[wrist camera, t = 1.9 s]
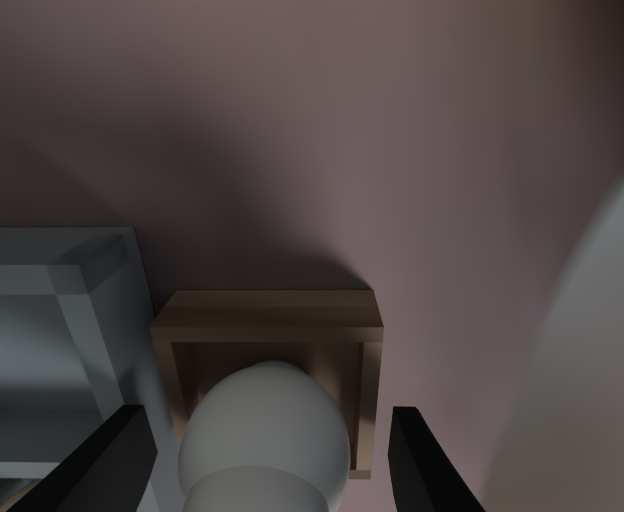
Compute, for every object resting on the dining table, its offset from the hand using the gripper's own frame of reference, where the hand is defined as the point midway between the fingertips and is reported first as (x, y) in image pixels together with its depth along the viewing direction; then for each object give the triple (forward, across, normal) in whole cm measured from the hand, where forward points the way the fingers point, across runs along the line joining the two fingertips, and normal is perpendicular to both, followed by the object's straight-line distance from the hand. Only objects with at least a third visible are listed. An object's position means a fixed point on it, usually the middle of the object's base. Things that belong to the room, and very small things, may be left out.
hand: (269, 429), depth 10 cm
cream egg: (+2, 0, 0) cm, 2 cm away
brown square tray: (+3, 0, 0) cm, 3 cm away
